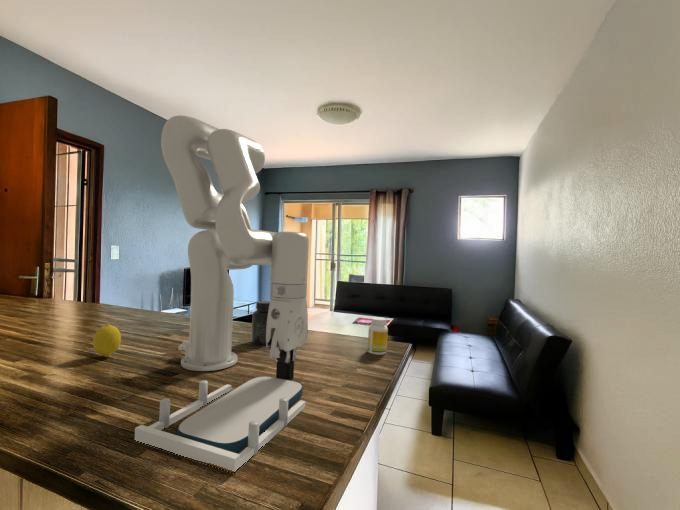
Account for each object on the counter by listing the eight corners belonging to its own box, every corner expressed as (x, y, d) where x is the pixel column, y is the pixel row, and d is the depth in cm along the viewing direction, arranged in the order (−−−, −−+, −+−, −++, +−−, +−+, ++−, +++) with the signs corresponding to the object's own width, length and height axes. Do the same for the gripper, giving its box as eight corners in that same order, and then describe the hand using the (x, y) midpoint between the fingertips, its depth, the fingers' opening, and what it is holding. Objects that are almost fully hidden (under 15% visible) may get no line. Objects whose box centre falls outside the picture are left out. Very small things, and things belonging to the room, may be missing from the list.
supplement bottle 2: (363, 351, 94) (365, 317, 94) (377, 348, 98) (378, 315, 98) (377, 356, 90) (378, 321, 90) (390, 353, 94) (392, 319, 94)
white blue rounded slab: (234, 463, 43) (235, 448, 43) (165, 443, 47) (166, 429, 47) (308, 393, 66) (308, 383, 66) (257, 383, 69) (257, 374, 69)
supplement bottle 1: (256, 338, 103) (258, 299, 103) (277, 340, 102) (279, 301, 102) (247, 344, 96) (249, 303, 96) (270, 346, 95) (271, 304, 95)
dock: (133, 440, 47) (134, 412, 47) (226, 389, 65) (226, 368, 65) (235, 474, 41) (237, 441, 41) (306, 407, 59) (307, 384, 59)
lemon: (86, 358, 79) (88, 324, 79) (110, 352, 84) (111, 320, 84) (102, 362, 77) (103, 327, 77) (125, 355, 82) (126, 323, 82)
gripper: (286, 297, 61) (282, 397, 61) (319, 289, 75) (316, 371, 75) (251, 293, 63) (247, 389, 63) (290, 287, 77) (286, 366, 77)
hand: (284, 379), depth 69 cm, fingers closed
